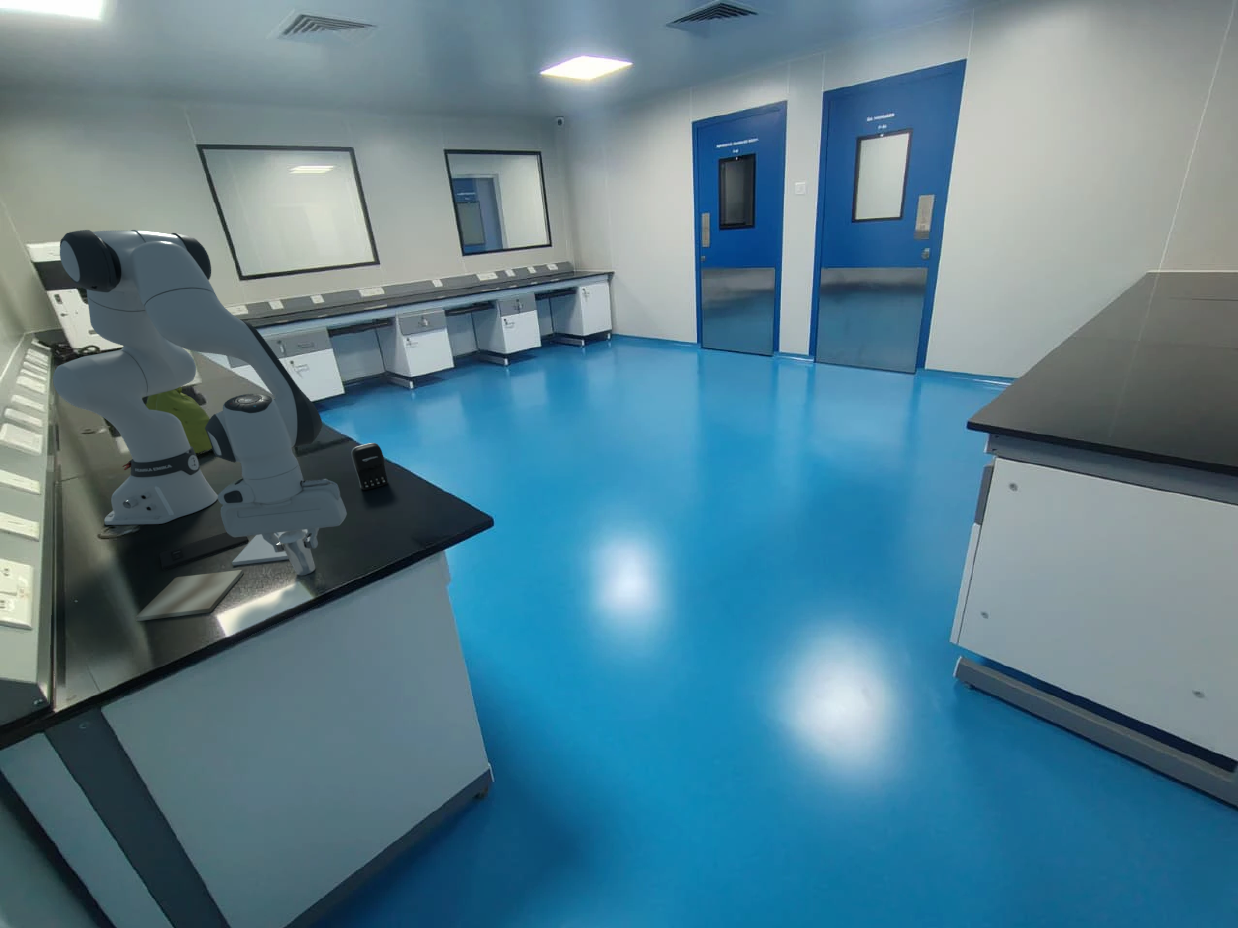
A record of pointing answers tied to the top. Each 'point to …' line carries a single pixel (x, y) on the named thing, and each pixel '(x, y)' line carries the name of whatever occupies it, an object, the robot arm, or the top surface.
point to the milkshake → (297, 551)
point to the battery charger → (369, 466)
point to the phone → (199, 549)
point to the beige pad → (190, 595)
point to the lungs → (184, 416)
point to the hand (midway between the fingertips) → (297, 548)
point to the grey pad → (260, 552)
